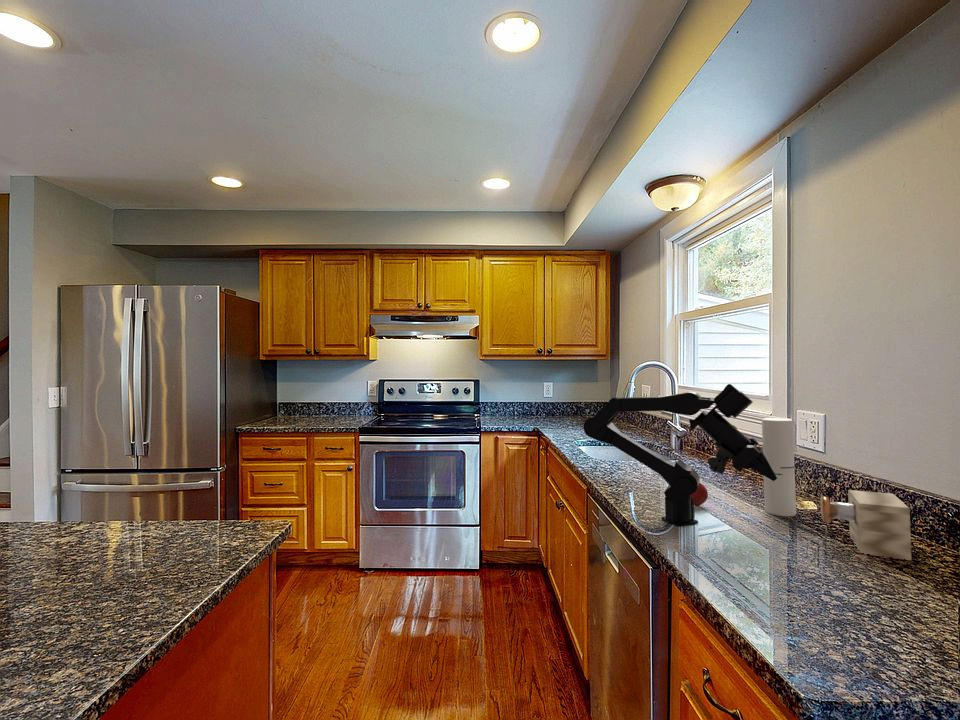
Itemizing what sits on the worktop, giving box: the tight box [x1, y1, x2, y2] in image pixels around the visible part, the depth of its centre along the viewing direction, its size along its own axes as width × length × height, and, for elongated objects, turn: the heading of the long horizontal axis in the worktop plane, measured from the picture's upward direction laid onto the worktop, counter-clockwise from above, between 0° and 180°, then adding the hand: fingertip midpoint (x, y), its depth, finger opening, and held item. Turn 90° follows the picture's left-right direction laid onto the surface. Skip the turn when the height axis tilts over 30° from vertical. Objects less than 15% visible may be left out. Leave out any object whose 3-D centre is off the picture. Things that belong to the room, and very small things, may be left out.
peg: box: [820, 495, 856, 523], centre depth 105 cm, size 9×6×6 cm, turn 61°
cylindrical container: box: [761, 417, 797, 517], centre depth 128 cm, size 7×7×25 cm
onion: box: [689, 481, 709, 508], centre depth 134 cm, size 6×6×8 cm
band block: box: [847, 489, 912, 561], centre depth 102 cm, size 8×12×10 cm, turn 151°
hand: (775, 479), depth 111 cm, fingers closed
